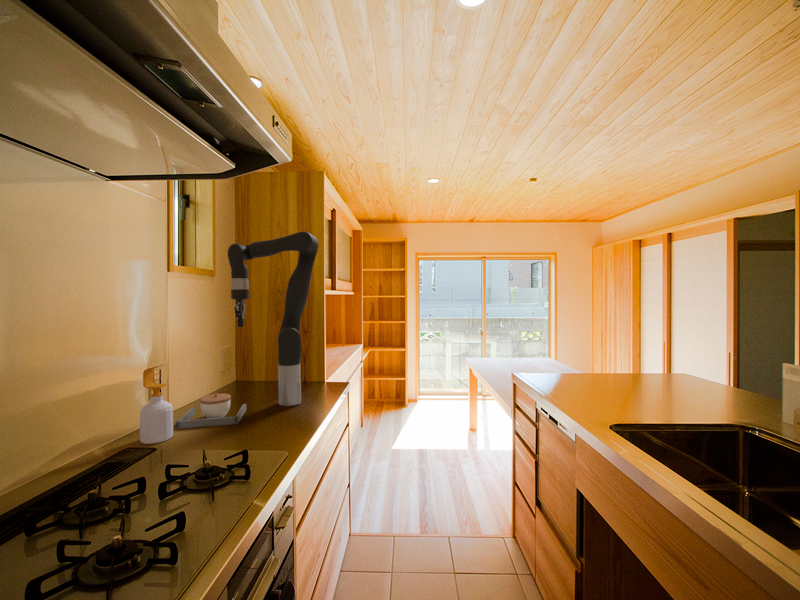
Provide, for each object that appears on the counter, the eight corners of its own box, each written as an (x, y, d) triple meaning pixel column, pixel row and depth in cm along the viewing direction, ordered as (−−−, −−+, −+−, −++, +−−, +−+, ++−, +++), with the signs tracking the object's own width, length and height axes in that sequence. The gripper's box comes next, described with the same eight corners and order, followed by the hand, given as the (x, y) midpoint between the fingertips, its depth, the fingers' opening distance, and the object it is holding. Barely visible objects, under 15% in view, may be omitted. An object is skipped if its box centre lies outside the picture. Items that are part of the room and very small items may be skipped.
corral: (246, 409, 149) (246, 403, 149) (237, 423, 133) (237, 417, 133) (191, 413, 145) (191, 407, 144) (176, 428, 128) (176, 421, 128)
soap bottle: (161, 444, 115) (160, 367, 115) (133, 444, 115) (132, 367, 115) (179, 433, 124) (178, 362, 124) (152, 433, 124) (151, 362, 124)
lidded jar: (218, 423, 134) (217, 397, 134) (193, 420, 137) (193, 396, 136) (237, 413, 145) (236, 390, 144) (214, 411, 147) (213, 388, 147)
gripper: (246, 288, 158) (246, 328, 158) (251, 288, 171) (252, 325, 171) (227, 288, 156) (228, 328, 157) (234, 288, 169) (235, 325, 170)
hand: (240, 326), depth 164 cm, fingers closed
